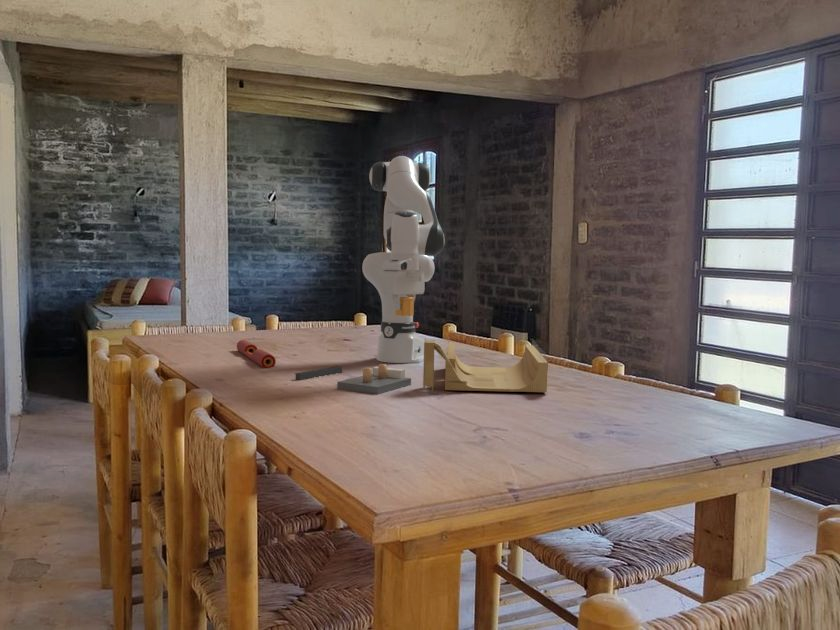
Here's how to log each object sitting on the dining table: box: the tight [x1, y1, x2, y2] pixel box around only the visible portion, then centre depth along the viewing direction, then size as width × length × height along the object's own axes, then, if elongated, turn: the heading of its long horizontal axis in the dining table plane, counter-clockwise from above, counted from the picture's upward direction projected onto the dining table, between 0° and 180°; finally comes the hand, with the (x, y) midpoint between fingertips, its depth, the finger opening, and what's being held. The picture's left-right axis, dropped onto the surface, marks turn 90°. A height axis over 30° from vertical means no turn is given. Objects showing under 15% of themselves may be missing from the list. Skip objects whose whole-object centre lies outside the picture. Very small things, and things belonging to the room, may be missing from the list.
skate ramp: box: [422, 336, 549, 393], centre depth 231 cm, size 40×35×16 cm
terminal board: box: [336, 363, 412, 395], centre depth 217 cm, size 18×14×6 cm
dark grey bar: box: [295, 366, 343, 381], centre depth 233 cm, size 19×3×4 cm
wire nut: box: [394, 297, 415, 317], centre depth 228 cm, size 6×6×6 cm
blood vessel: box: [236, 339, 277, 369], centre depth 265 cm, size 42×5×5 cm, turn 25°
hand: (403, 309), depth 228 cm, fingers closed on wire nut, 6 cm apart
